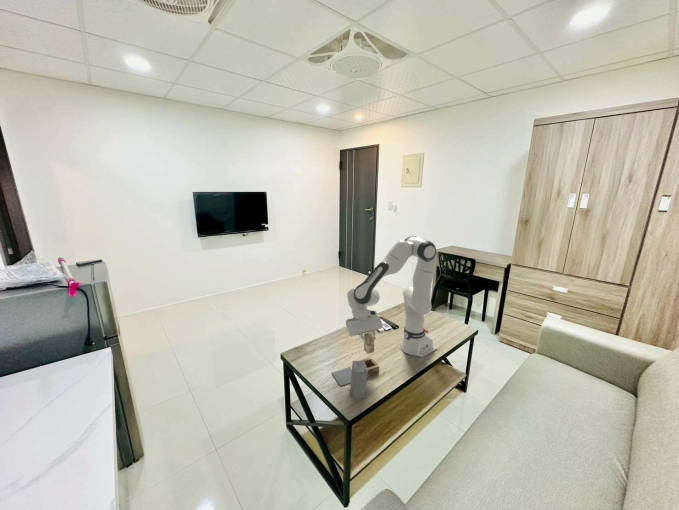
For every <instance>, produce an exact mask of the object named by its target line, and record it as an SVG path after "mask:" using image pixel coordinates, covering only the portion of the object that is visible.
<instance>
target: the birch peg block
mask: <svg viewBox="0 0 679 510" xmlns="http://www.w3.org/2000/svg"><path fill="white" fill-rule="evenodd" d="M363 336H364V337H365V338H366V339H367V341H366V342H363V351H365V353H366V354H368V355H369V354H372V353H374V352H375V339H374V337H376V335H375V336H374V335H373V333H372V332H367V333H363Z"/></svg>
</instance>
